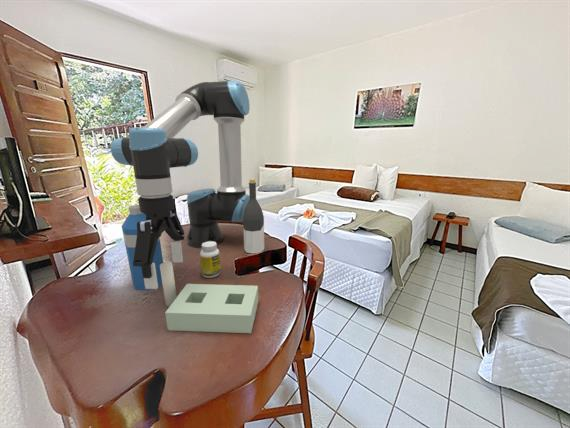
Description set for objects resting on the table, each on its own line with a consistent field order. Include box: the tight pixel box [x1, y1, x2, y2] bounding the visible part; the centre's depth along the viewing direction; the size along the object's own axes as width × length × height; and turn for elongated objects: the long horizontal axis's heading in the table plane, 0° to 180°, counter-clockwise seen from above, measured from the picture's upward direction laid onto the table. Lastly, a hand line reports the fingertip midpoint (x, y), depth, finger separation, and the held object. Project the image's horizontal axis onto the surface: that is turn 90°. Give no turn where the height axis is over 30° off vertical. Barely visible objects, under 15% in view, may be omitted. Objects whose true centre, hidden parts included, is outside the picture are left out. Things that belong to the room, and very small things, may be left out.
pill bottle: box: [199, 241, 222, 279], centre depth 81 cm, size 6×6×11 cm
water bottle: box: [121, 204, 164, 291], centre depth 74 cm, size 9×9×25 cm
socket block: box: [164, 283, 259, 334], centre depth 63 cm, size 12×20×5 cm, turn 88°
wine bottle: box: [242, 178, 265, 255], centre depth 94 cm, size 8×8×30 cm
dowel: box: [160, 261, 178, 308], centre depth 66 cm, size 3×3×12 cm
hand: (166, 273), depth 65 cm, fingers open, 13 cm apart
